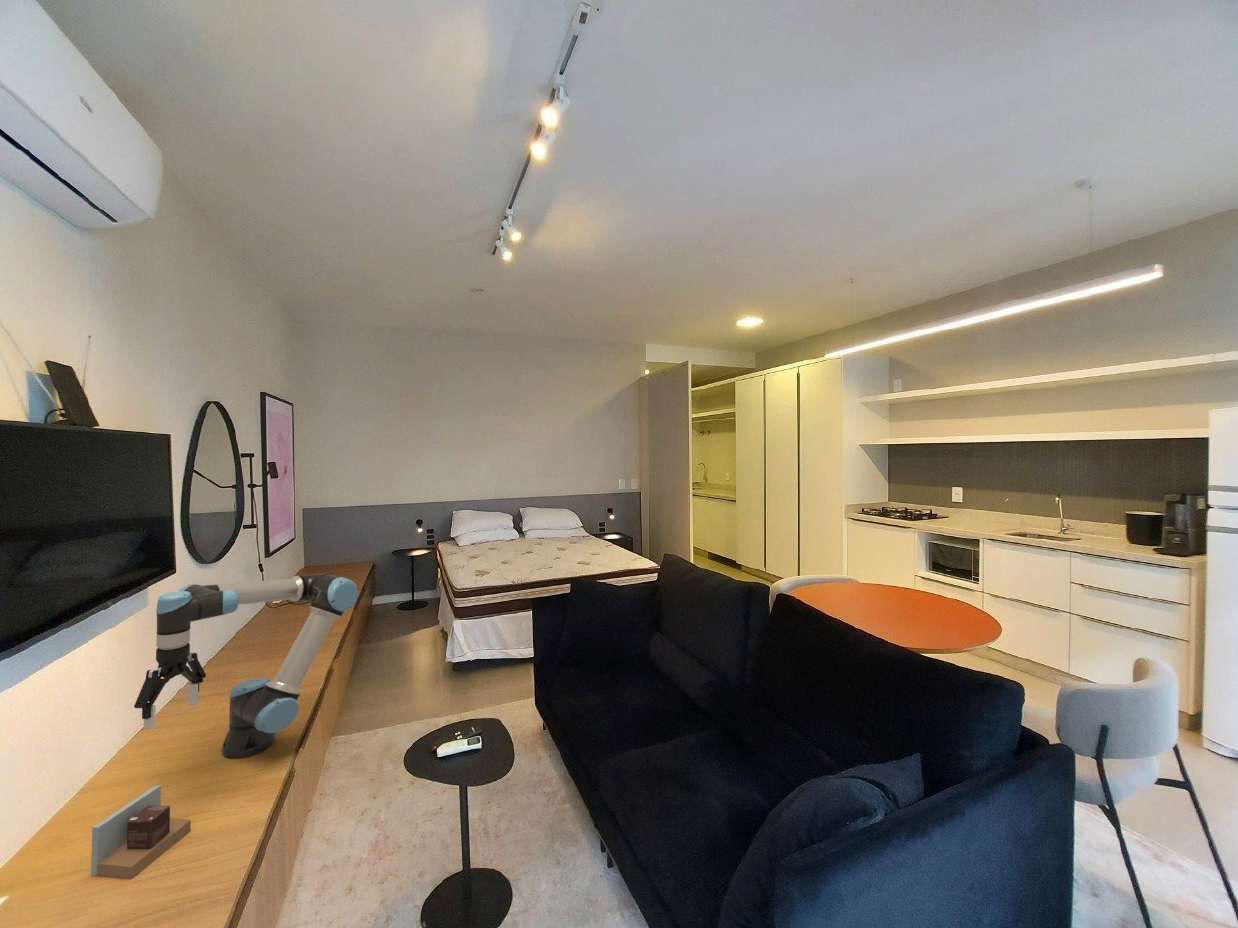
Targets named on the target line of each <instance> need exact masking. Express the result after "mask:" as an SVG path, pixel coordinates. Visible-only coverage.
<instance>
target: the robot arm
mask: <svg viewBox="0 0 1238 928" xmlns="http://www.w3.org/2000/svg"><path fill="white" fill-rule="evenodd" d="M358 598H359V589H358V586H357V584H356V583H355V581H353V579H352V580H351V579H349V578H348V577H343V576H339V575H334V574H330V573H313V574H304V575H295V576H292V578H287V579H276V580H275V579H272V580H262V581H261V580H260V581H259V580H258V581H248V582H247V581H246V582H235V583H221V584H220V583H219V584H218V583H217V584H209V585H207V584H206V585H201V584H194V583H190V584H186V585H184V586H182V587H181V588H180V589H178V590H177V591H172V592H171V591H170V592H167V593H163V594H161V595H160V596H159V597H158V598H157V603H156V610H155V613H156V640H155V641H156V642H155V644H156V650H155V661H156V662H157V663H158V665H157V668H155V669H148V670H147V671H146V672H145V679H144V682H143V683H142V684H143V685H142V687H141V688H140V691H139V694H138V695H137V698H136V701H135V703H134V706H133V708H134V709H141V719H142V720H143V729H144V730H154V729H156V705H154V703H156V700H157V698H158V697H159V696H160V693H161V692H162V690H163V688H164V687H165V685H166V684H167V683H169V682H170V680H171V679H173V678H175V677H177V676H179V675H181V676H183V678H185V679H187V681H189V683H188V684H187V697H186V699H187V700H186V702H187V706H197V705H198V704H199V691H200V683H203V682H204V679H205V678H206V677H207V674H206V672H205V671H204V668H203V666H202V664H201V662H200V661H199V658H198V653H197V652H191V643H190V642H191V623H192V622H197V621H201V620H205V619H211V618H215V617H220V616H221V617H222V616H225V615H228V614H231V613H234V612H236V611H237V609H238V607H239V605H240V606H241V605H249V604H258V603H259V604H260V603H268V602H278V601H279V602H280V601H287V600H290V601H292V602H294V603H296V602H309V603H310V605H309V611H310V613H309V615H308V617H307V619H306V621H305V623H304V625H303V626H302V628H301V630H300V632H299V633H298V635H297V637H296V638H295V641H294V643H293V645H292V646H291V647H290V649H289V651H288V653H287V655H286V657H285V658H284V660H283V662H282V664H281V665H280V667H279V668H278V671H277V673H276V675H275V676H274V678H273V679H272V680H271V679H270V678H268V677H257V678H253V679H248V680H245V681H241V682H239V683H237V684H235V685H234V686H233V687H231V689H230V693H229V697H228V698H229V725H228V731H227V733H226V736H225V737H224V741H223V743H222V749H221V750H222V751H221V753H222V756H224V758H228V759H240V758H241V759H242V758H246V757H251V756H254V755H256V754H257V755H258V754H260V753H261V752H263V751H266V750H267V749H269V748H270V747H271V746H272V745H273V744H274V743H275V740H276V739H275V738H276V737H275V735H276V734H275V733H279V732H281V731H282V730H284V729H286V728H287V727H288V726H290V725H291V724H292V723H293V722H294V720H295V719H296V718H297V715H298V712H299V704H298V702H297V701H298V699H299V697H300V695H301V693H302V691H301V689H300V687H301V684H302V683H303V680H304V678H305V676H306V674H307V673H308V671H309V670H310V667H311V665H312V663H313V661H314V660H315V658H316V655H317V654H318V652H319V650H320V648H321V646H322V645H323V642H324V641H325V638H326V637H327V635H328V634H329V632H330V630H331V628H332V626H333V624H334V622H335V621H336V620H338V619H340V618H342V616H343V614H344V613H345V612H346V611H349V610H350V609H351V608H353V607H354V606H355V604H356V603H357V601H358ZM187 664H188V665H187Z"/></svg>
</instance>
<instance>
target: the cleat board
mask: <svg viewBox="0 0 1238 928" xmlns="http://www.w3.org/2000/svg"><path fill="white" fill-rule="evenodd" d="M161 796H162V785H158V784H155V785H154V786H153V787H151V788H149V789H148V790H147V791H145V792H143V793H141V795H139V796H138V797H136V798H134V799H132V801H131V800H130V802H128V803H126V805H124V806H122V807H121V808H120V809H118V810H117V811H115V812H113V813H112V814H111V815H109V816H107V817H106V818H104V819H102V820H101V821H100V822H98V823H96V824H95V825H94V826H92V829H91V865H90V866H91V867H90V876H91V877H92V876H94V877H104V878H106V877H107V878H117V879H128V880H133V878H134V877H136V876H137V875H138V874H139V873H140V872H142V871H143V870H144V869H145V868H147V867H148V866H149V865H150V864H151V863H153V862H154V861H155V860H156V859H158V858H159V857H160V856H161V855H162V854H163V853H164V852H166V851H167V850H169V848H171V847H172V846H174V845H175V844H176V843H177V842H178V841H179V840H181V839H182V838H184V837H185V836H186V835H187V834H188V833H190V832H191V828H192V825H191V823H192V822H191V821H192V819H186V818H185V819H183V818H173V817H172V818H171V817H170V832H169V833H168V834H167V835H165V836H164V837H163V838H162V839H161V840H160V841H158V842H157V843H156V844H155V845H154V846H153V847H152V848H150V849H146V848H145V849H143V848H142V849H138V848H137V849H127V822H128V821H129V820H130V819H131V818H132V817H134V816H135V815H136V814H138V813H139V812H140V811H142V810H143V809H144V808H145V807H147V806H162V805H161V801H162V797H161Z"/></svg>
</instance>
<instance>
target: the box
mask: <svg viewBox="0 0 1238 928" xmlns="http://www.w3.org/2000/svg"><path fill="white" fill-rule="evenodd" d="M170 818H171V806H170V805H161V806H147V807H145V808H144V809H143V810H142V811H140V812H139V813H138V814H136V815H135V816H134V817H132V818H131V819H130V820H129V821H128V822H127V849H137V848H138V849H142V848H143V849H145V848H146V849H150V848H152V847H153V846H154V845H155V844H156V843H157V842H158V841H160V840H161V839H162V838H163V837H164V836H165V835H167V834H168V833H169V832H170Z"/></svg>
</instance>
